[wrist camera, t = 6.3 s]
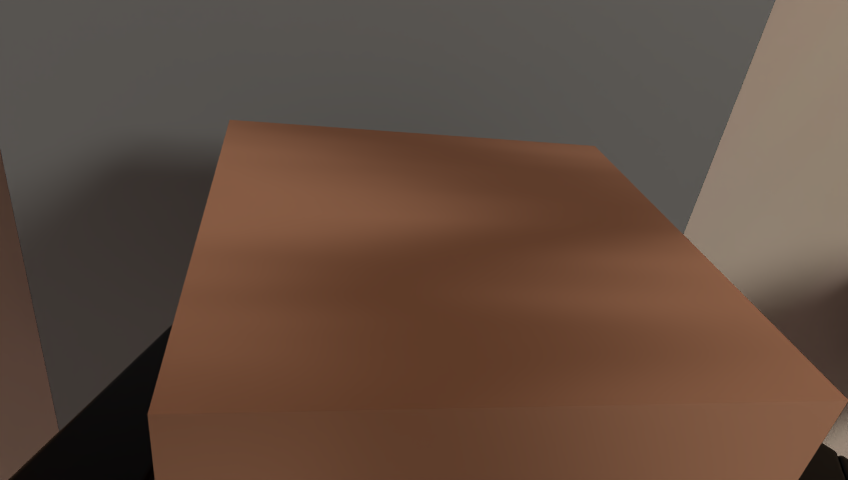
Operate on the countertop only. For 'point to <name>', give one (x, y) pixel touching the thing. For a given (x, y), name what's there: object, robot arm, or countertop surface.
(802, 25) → the countertop surface
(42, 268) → the plinth
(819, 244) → the countertop surface
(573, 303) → the cube
